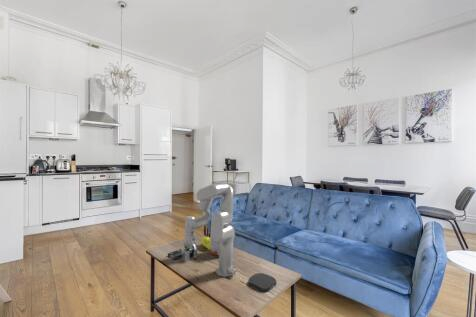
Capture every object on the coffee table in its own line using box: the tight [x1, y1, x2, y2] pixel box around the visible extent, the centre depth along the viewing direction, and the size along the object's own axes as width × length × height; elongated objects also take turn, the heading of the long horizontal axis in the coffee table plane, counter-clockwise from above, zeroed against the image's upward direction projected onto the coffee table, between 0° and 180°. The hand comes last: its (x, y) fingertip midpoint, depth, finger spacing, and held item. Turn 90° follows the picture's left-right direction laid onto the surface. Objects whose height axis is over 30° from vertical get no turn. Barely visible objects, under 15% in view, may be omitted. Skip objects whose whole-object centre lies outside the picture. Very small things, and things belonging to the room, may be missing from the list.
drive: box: [181, 246, 198, 262], centre depth 167 cm, size 5×11×7 cm, turn 138°
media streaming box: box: [247, 272, 277, 293], centre depth 134 cm, size 15×15×3 cm
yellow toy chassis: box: [201, 236, 210, 251], centre depth 189 cm, size 16×6×8 cm, turn 34°
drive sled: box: [167, 248, 183, 261], centre depth 171 cm, size 9×12×2 cm
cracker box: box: [209, 227, 219, 257], centre depth 175 cm, size 14×6×21 cm, turn 53°
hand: (189, 256), depth 167 cm, fingers closed on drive, 5 cm apart
